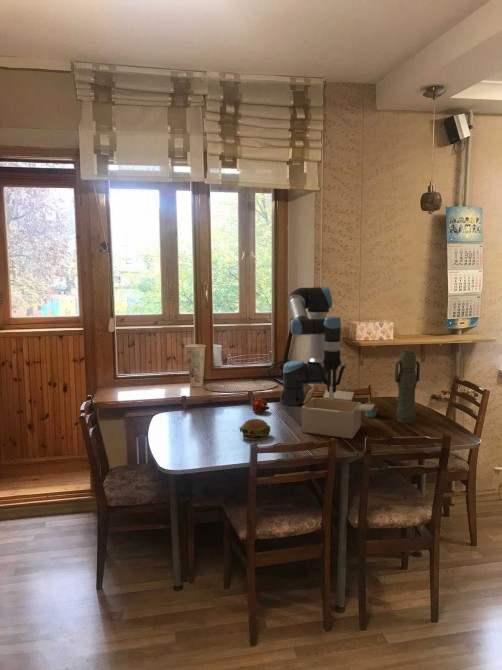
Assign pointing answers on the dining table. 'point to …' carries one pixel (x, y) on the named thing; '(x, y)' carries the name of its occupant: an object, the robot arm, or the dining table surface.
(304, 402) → the flap arm end
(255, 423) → the food
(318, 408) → the flap near
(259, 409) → the dragon fruit
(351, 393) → the flap far
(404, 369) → the thermos
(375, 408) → the cupcake
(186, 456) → the dining table surface
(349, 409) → the carton
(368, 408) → the flap far end
